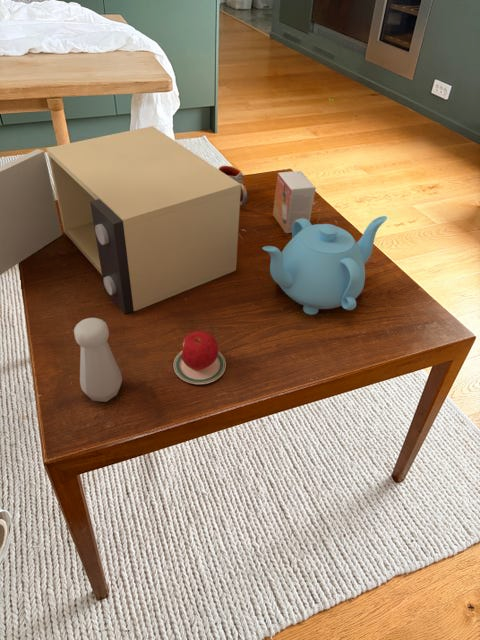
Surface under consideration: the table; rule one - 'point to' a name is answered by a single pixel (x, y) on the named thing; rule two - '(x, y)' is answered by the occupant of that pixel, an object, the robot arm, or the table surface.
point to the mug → (237, 176)
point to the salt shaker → (97, 361)
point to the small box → (292, 199)
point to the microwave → (146, 214)
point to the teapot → (323, 265)
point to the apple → (199, 359)
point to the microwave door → (26, 209)
